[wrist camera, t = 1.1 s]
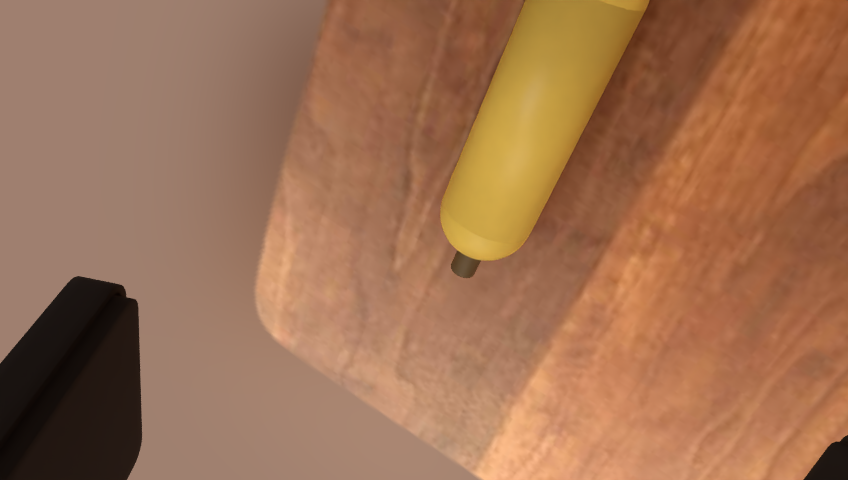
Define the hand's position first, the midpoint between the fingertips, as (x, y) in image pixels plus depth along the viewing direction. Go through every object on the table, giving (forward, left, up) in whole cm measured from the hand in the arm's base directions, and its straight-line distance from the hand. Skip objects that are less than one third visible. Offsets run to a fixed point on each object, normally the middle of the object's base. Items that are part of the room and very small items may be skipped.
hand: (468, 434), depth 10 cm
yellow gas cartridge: (+3, 0, -19) cm, 19 cm away
